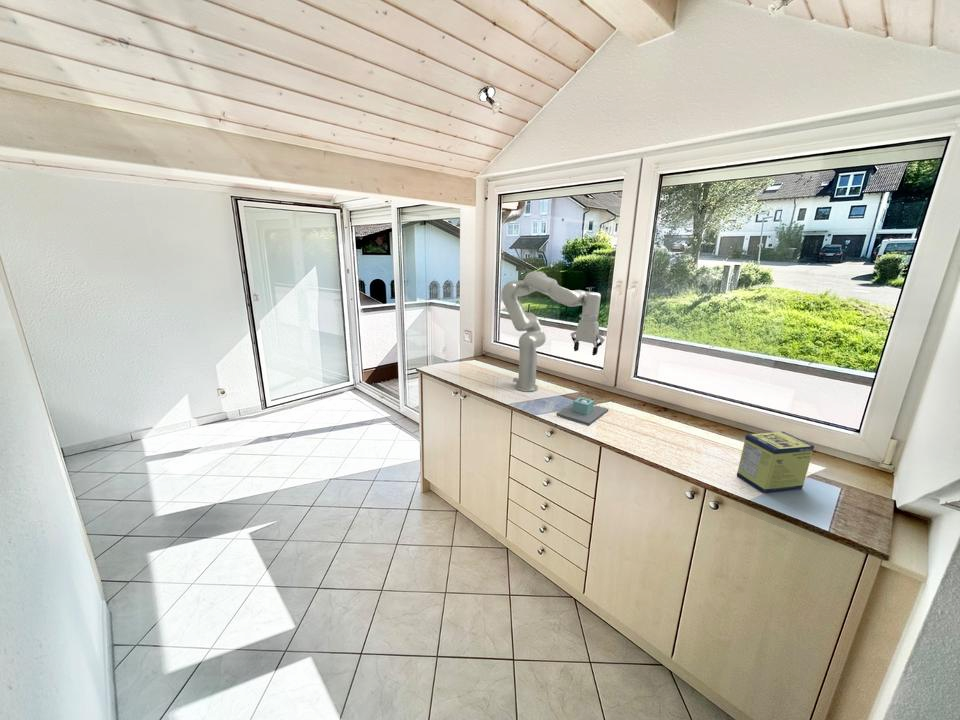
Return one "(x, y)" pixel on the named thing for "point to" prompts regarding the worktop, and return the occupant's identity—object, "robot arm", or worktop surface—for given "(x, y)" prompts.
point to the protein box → (774, 461)
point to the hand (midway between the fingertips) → (585, 352)
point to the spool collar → (583, 406)
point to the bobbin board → (582, 418)
